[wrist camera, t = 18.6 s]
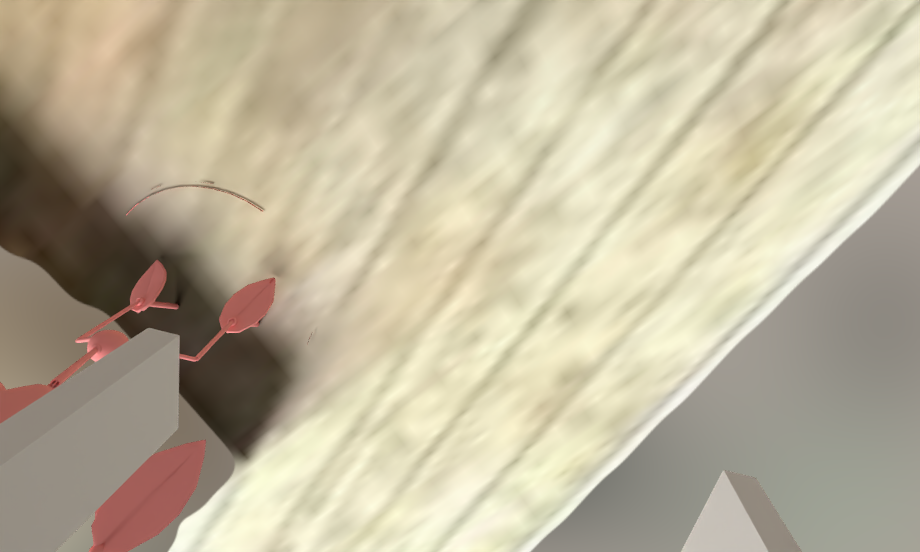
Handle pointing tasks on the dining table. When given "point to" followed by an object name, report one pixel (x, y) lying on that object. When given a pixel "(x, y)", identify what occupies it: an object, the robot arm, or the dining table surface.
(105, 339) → the pink flower sprig
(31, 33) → the dining table surface
